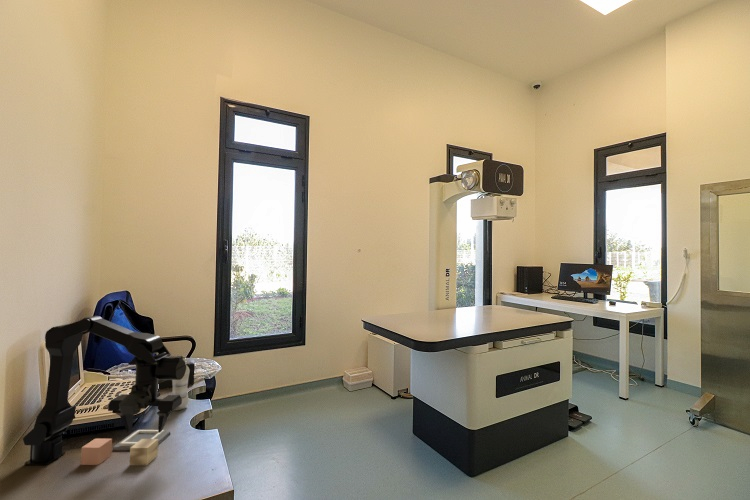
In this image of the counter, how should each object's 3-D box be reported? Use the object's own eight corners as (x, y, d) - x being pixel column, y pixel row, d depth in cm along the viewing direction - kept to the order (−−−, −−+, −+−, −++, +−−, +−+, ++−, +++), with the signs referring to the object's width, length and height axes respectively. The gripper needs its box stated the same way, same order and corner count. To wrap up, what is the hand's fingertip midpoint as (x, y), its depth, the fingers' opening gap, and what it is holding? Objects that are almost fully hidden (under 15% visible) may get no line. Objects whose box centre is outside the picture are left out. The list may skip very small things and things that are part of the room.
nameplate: (193, 383, 165) (194, 362, 165) (193, 384, 163) (194, 363, 164) (141, 391, 154) (142, 368, 154) (141, 392, 153) (142, 370, 153)
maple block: (129, 465, 99) (130, 447, 99) (141, 455, 104) (141, 438, 104) (146, 465, 99) (147, 448, 99) (157, 455, 104) (158, 439, 104)
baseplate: (112, 450, 106) (112, 444, 106) (134, 434, 116) (134, 428, 116) (151, 450, 106) (151, 444, 107) (170, 434, 116) (170, 429, 117)
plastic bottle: (167, 413, 132) (169, 361, 133) (172, 406, 139) (174, 356, 139) (186, 411, 134) (187, 360, 135) (190, 404, 140) (192, 355, 141)
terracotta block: (80, 464, 99) (81, 447, 99) (94, 455, 104) (95, 438, 104) (98, 465, 99) (99, 447, 99) (111, 455, 104) (112, 438, 104)
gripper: (93, 388, 94) (91, 446, 94) (161, 389, 94) (159, 446, 94) (122, 375, 105) (120, 426, 105) (183, 375, 106) (181, 427, 105)
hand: (144, 431), depth 102 cm, fingers open, 9 cm apart
